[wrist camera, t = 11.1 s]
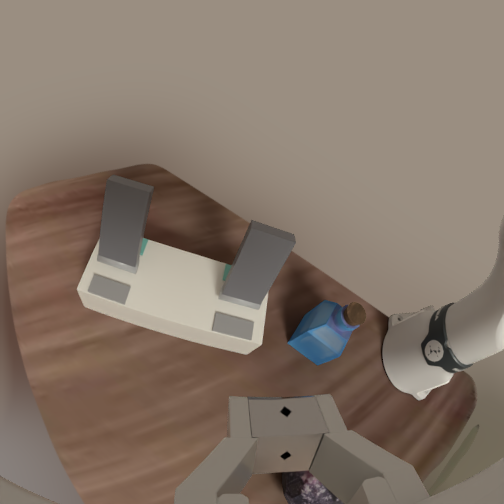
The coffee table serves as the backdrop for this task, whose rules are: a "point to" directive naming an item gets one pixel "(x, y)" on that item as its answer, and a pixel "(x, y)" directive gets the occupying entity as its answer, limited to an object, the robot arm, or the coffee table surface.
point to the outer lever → (123, 222)
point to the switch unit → (173, 298)
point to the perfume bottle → (326, 330)
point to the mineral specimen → (306, 489)
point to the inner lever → (256, 265)
